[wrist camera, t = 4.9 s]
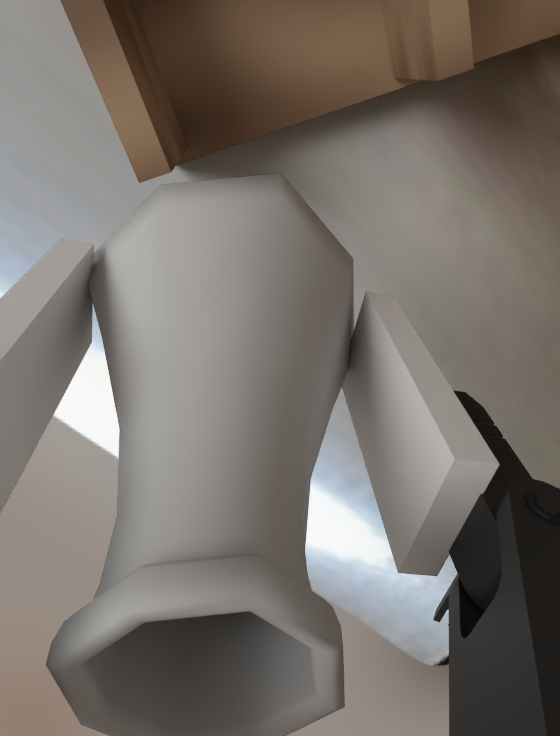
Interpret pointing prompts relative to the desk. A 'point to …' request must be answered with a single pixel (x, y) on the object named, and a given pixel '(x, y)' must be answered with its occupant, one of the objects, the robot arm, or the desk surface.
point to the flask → (214, 466)
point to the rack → (275, 61)
